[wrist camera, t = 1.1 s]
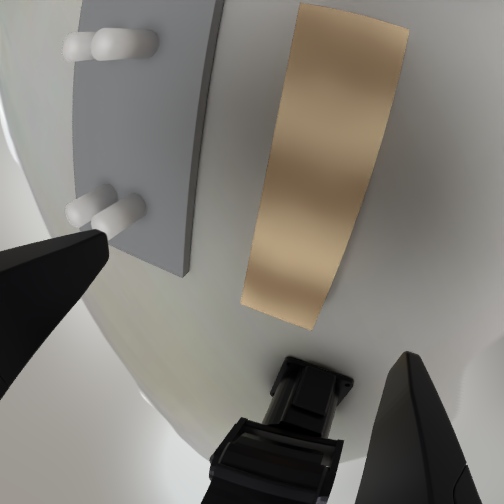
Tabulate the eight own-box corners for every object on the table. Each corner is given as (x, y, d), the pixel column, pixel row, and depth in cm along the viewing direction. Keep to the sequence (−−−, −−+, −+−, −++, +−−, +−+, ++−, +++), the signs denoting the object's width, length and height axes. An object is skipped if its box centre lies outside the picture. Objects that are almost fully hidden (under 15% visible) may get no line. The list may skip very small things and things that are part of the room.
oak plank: (322, 298, 23) (311, 330, 20) (258, 275, 24) (240, 303, 21) (402, 40, 13) (409, 29, 10) (314, 17, 14) (299, 2, 11)
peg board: (188, 271, 26) (154, 308, 22) (86, 226, 28) (50, 250, 24) (229, -24, 13) (183, -47, 9) (93, -9, 16) (43, -11, 12)
